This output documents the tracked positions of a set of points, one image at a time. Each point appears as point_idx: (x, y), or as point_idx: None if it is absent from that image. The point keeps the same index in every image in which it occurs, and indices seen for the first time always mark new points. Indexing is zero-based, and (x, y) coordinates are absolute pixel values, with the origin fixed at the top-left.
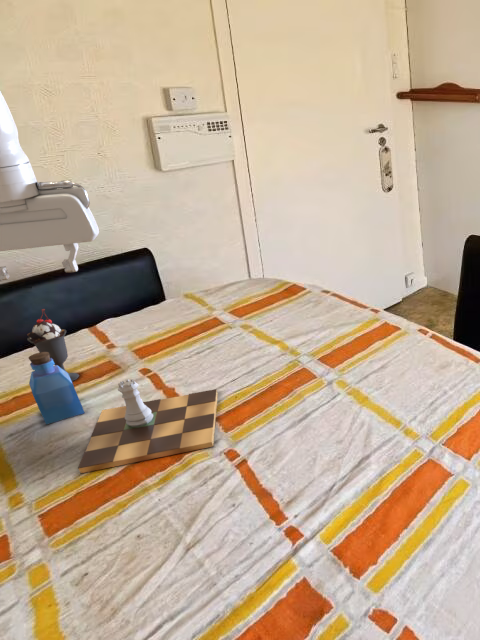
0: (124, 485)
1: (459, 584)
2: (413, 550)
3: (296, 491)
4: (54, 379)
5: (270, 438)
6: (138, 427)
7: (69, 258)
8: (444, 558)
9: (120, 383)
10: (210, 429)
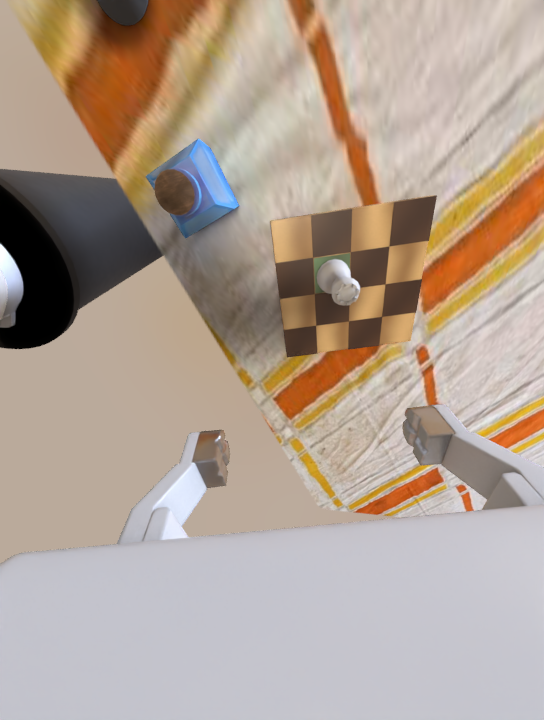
0: (330, 377)
1: None
2: None
3: (457, 410)
4: (208, 214)
5: (463, 336)
6: None
7: (460, 475)
8: None
9: (339, 295)
10: (412, 316)
